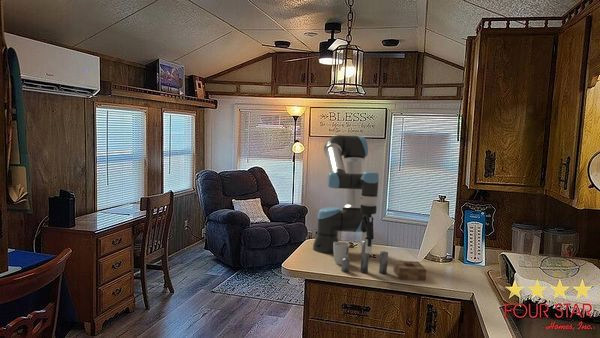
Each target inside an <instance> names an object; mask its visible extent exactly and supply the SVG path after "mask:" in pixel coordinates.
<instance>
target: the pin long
mask: <svg viewBox="0 0 600 338" xmlns="http://www.w3.org/2000/svg"><path fill="white" fill-rule="evenodd" d="M365 250H366V240H363V241H362V246H361V252H360V255H361V257H360V269H359V270H360V271H359V272H360V273H361V274H369V264H370V263H369V262H370V260H369V259H370V253H365Z"/></svg>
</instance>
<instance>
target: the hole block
mask: <svg viewBox="0 0 600 338" xmlns="http://www.w3.org/2000/svg"><path fill="white" fill-rule="evenodd" d="M392 271H393V272H394V273H395V276H396V277H398V280H405V281H406V280H407V281H408V280H409V281H411V280H412V281H426V277H427V269H426V268H425V267H424V266H423V264H421V263H420V261H410V260H393V270H392Z"/></svg>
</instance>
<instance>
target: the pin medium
mask: <svg viewBox="0 0 600 338" xmlns="http://www.w3.org/2000/svg"><path fill="white" fill-rule="evenodd" d="M379 253H380V254H379V255H380V256H379V267H378V269H379V270H378V272H379V273H378V274H381V275H387V273H388V272H387V271H388V262H389V261H388V260H389V252H388V251H380V252H379Z"/></svg>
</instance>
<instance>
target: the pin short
mask: <svg viewBox="0 0 600 338" xmlns="http://www.w3.org/2000/svg"><path fill="white" fill-rule="evenodd" d="M350 260H351V259H350V258H349V257H348V258H342V265H341V270H340V271H341V272H342V273H350V265H351V264H350Z"/></svg>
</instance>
